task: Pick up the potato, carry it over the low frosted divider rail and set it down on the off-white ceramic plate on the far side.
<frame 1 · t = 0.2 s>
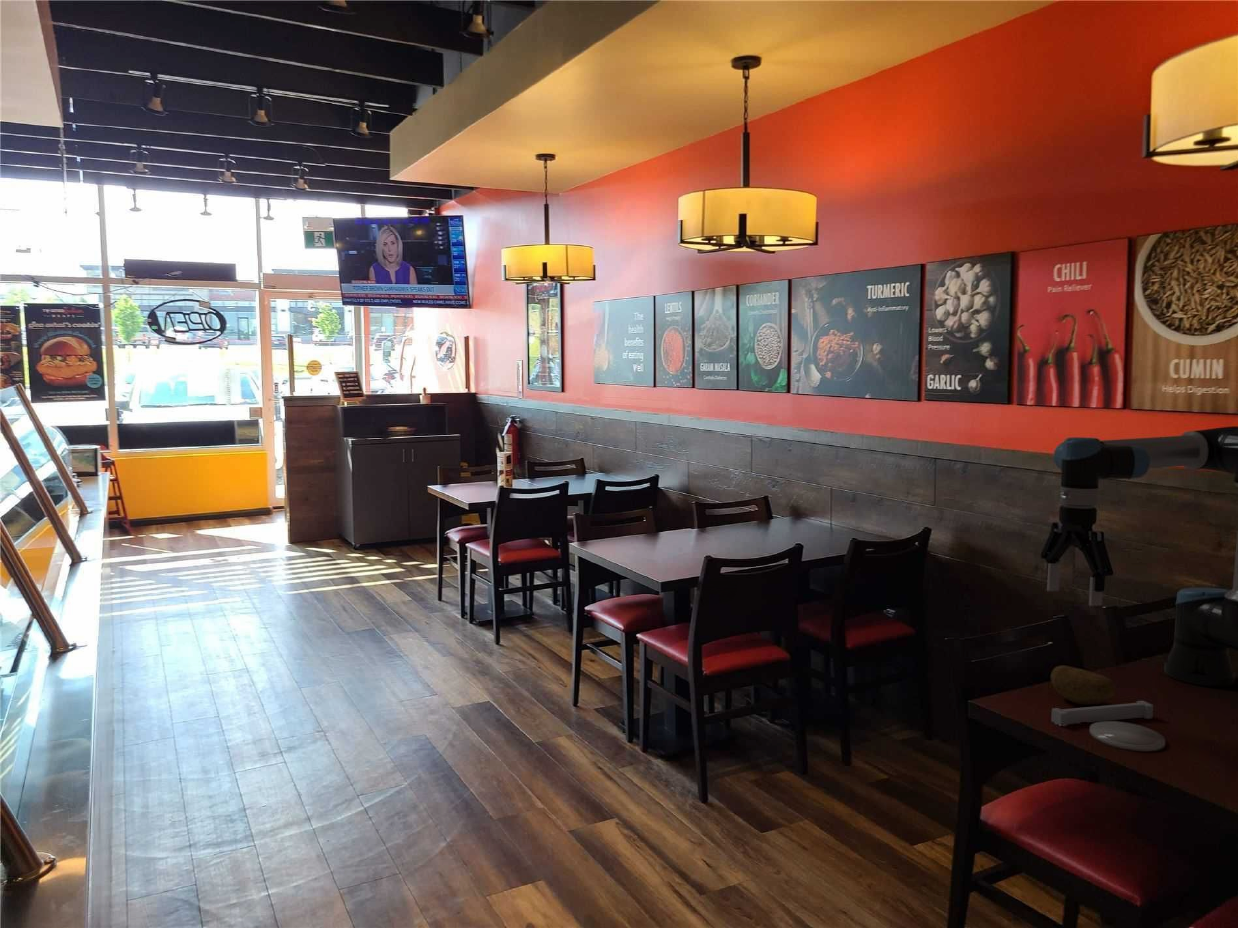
hand: (1073, 597, 199), 27 cm above the table, fingers open, 13 cm apart
divider rail: (1102, 719, 196), on the table
potato: (1081, 703, 207), on the table
plate: (1126, 737, 187), on the table
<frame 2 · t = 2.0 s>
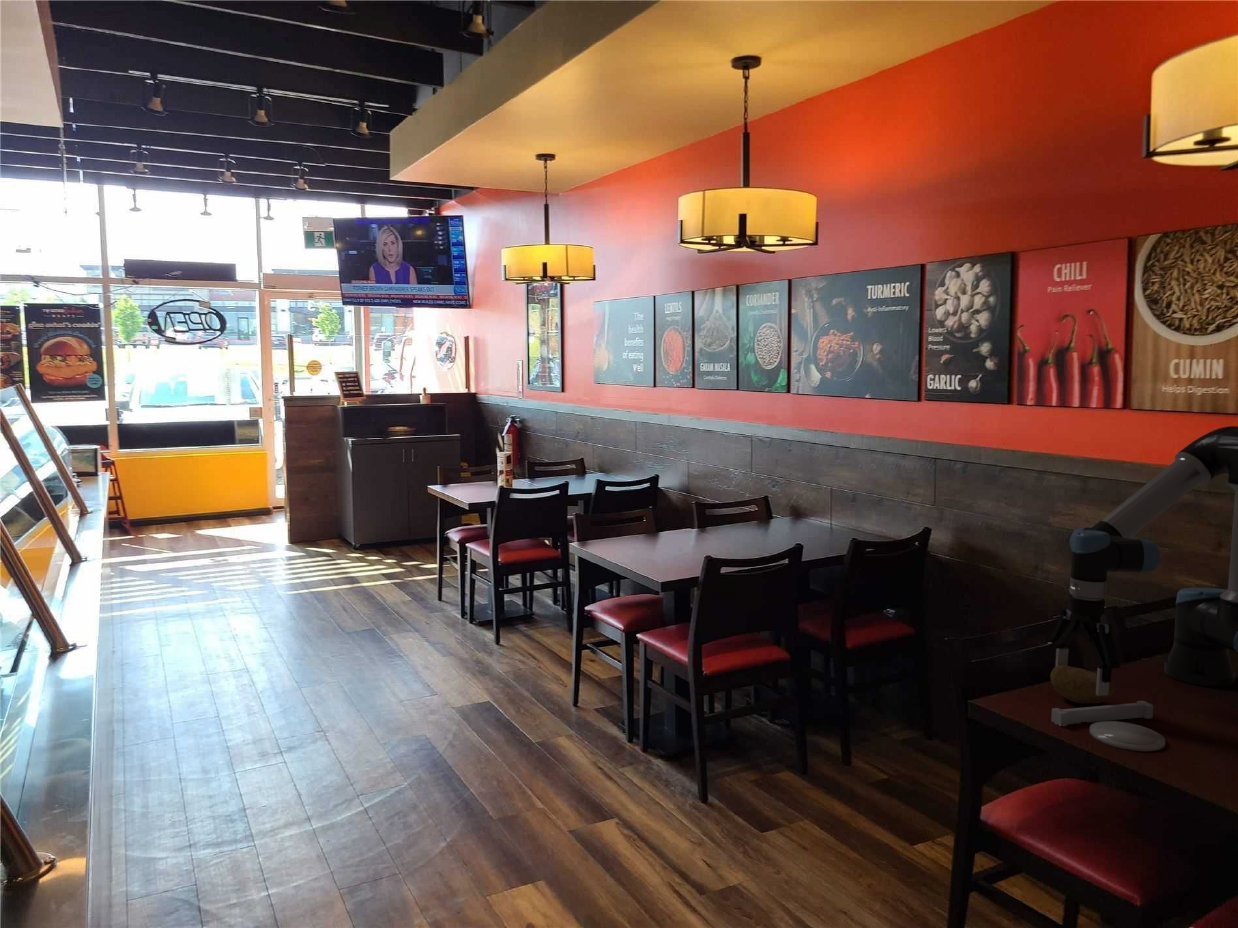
hand: (1080, 684, 206), 4 cm above the table, fingers open, 13 cm apart
potato: (1082, 703, 207), on the table, touching gripper
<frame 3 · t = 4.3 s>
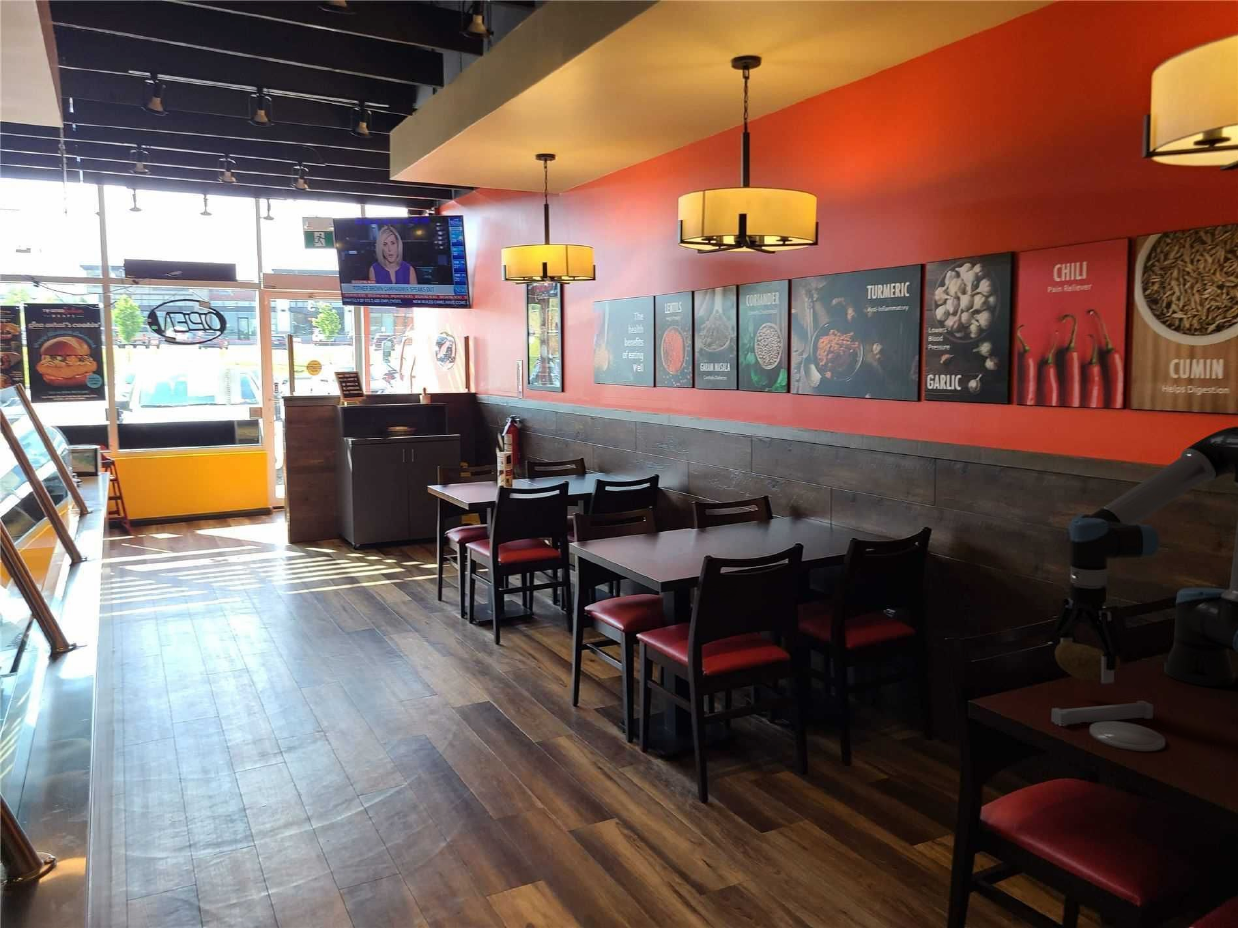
hand: (1086, 673, 206), 7 cm above the table, fingers closed on potato, 13 cm apart
potato: (1086, 679, 206), point 6 cm above the table, touching gripper
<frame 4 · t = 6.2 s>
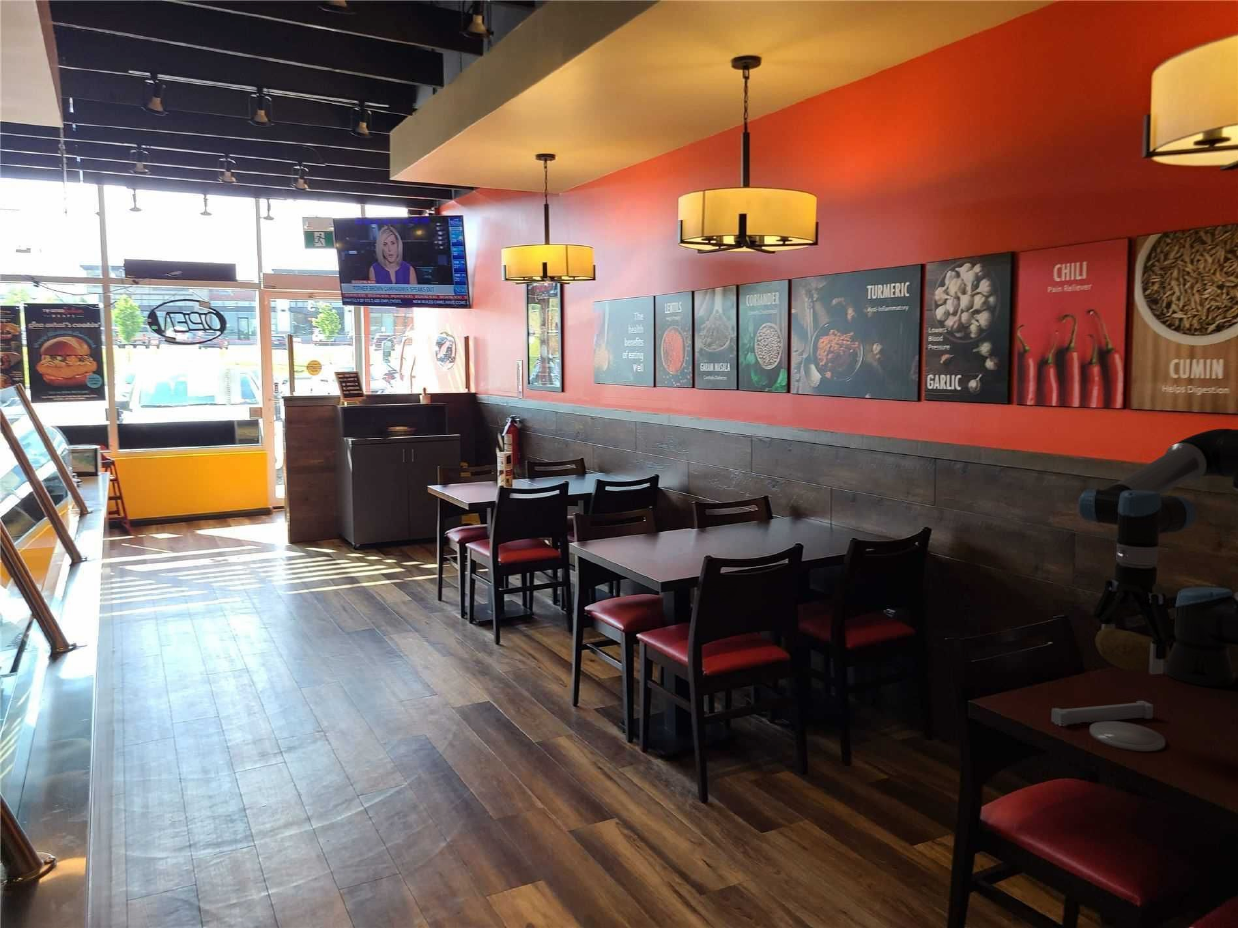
hand: (1130, 662, 185), 16 cm above the table, fingers closed on potato, 13 cm apart
potato: (1130, 669, 185), point 15 cm above the table, touching gripper
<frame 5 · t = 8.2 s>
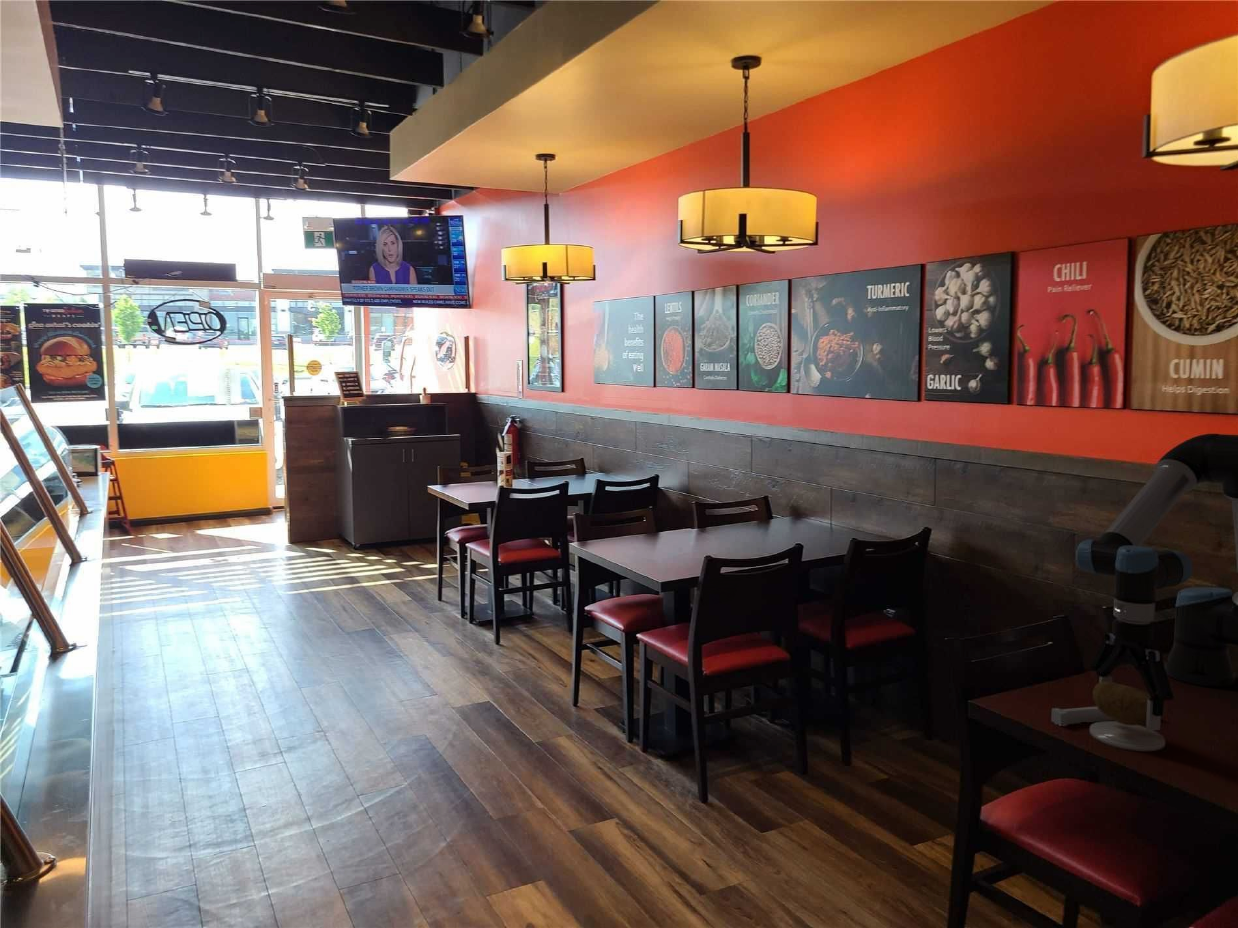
hand: (1127, 717, 186), 5 cm above the table, fingers closed on potato, 13 cm apart
potato: (1128, 723, 186), point 3 cm above the table, touching gripper
when the fingers open (4 cm above the table, at t = 9.6 s): potato drops 1 cm, resting on plate.
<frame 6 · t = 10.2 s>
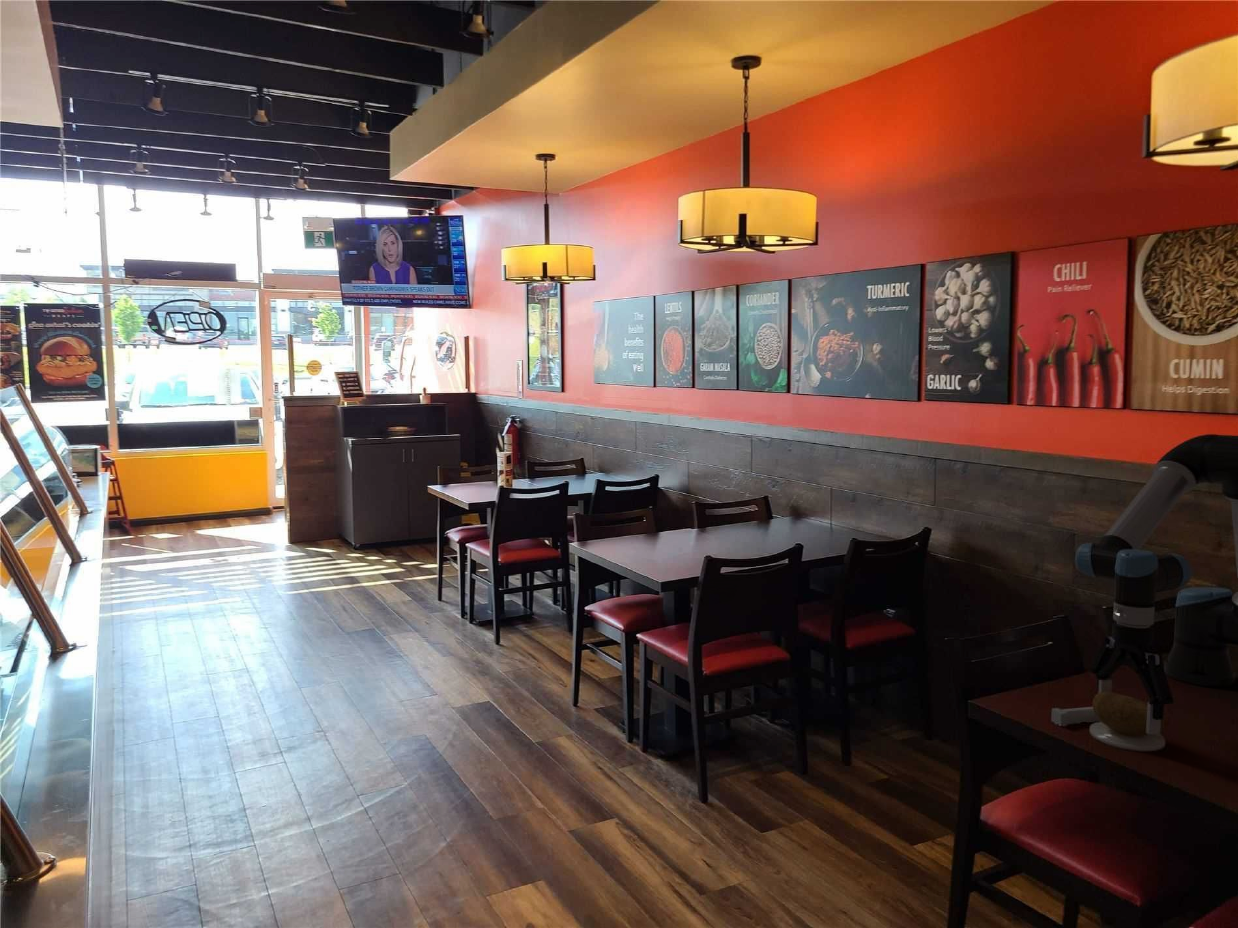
hand: (1127, 720, 186), 4 cm above the table, fingers open, 13 cm apart
potato: (1127, 734, 186), point 1 cm above the table, touching gripper, plate
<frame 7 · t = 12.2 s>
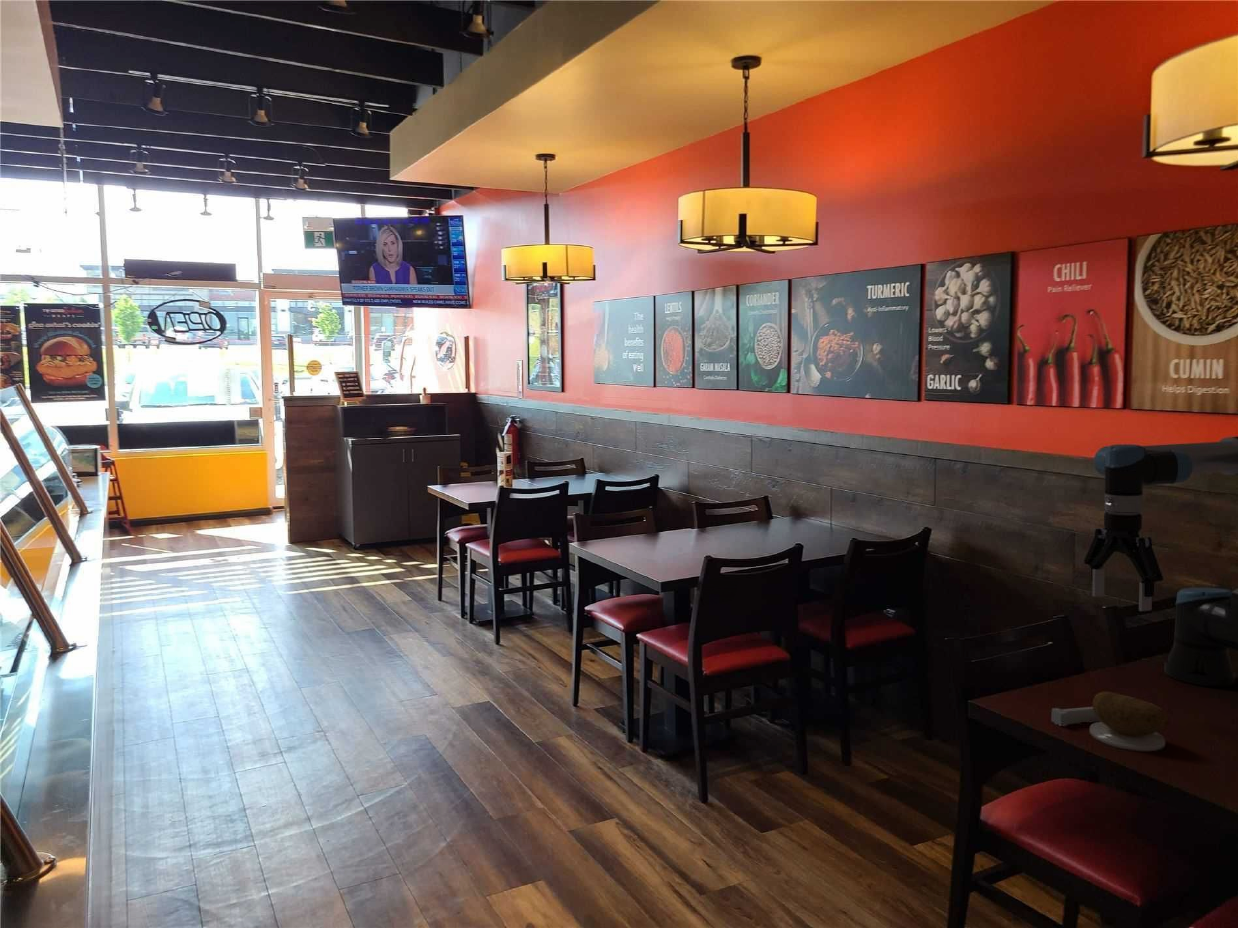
hand: (1120, 602, 202), 25 cm above the table, fingers open, 13 cm apart
potato: (1127, 734, 186), point 1 cm above the table, touching plate
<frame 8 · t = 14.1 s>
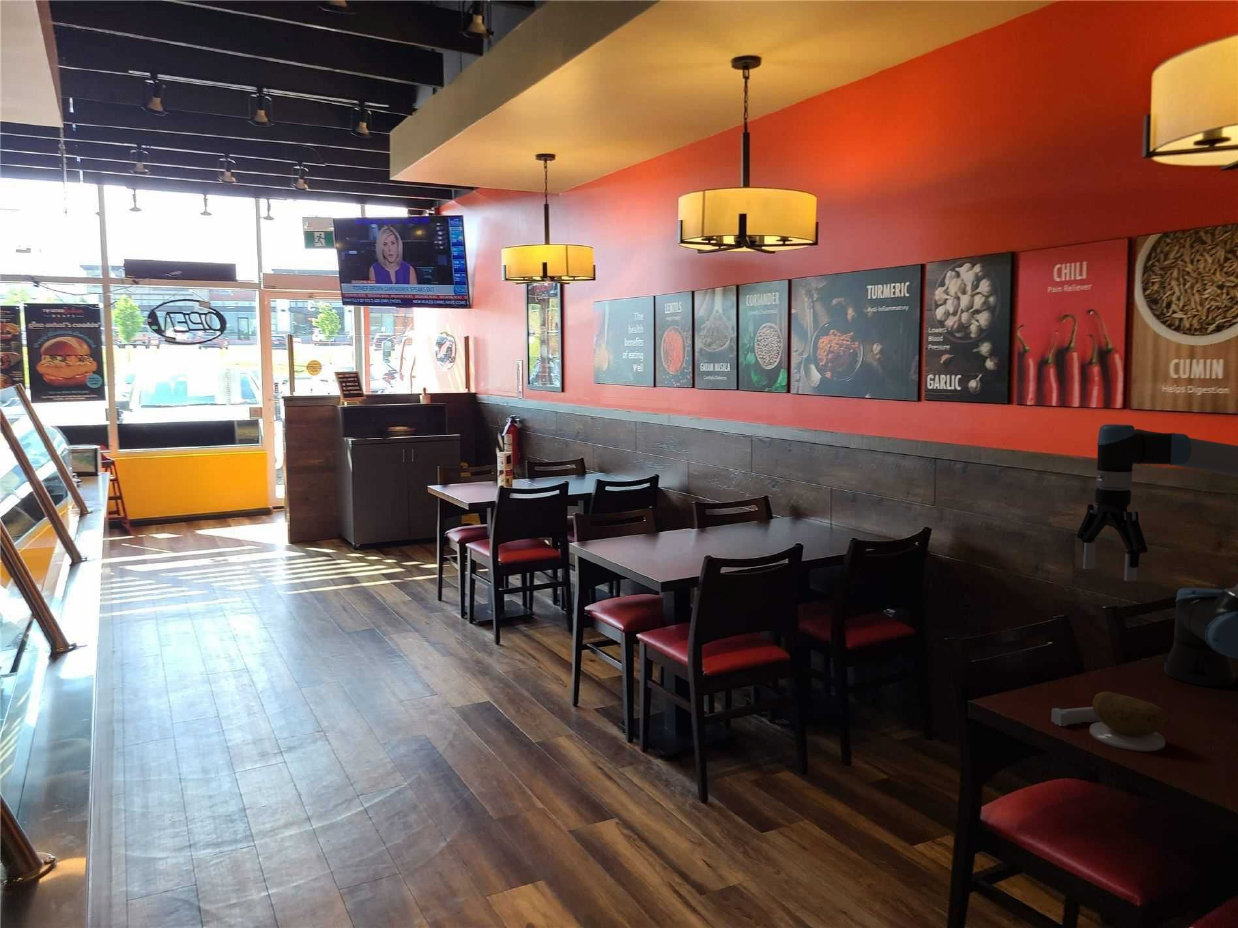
hand: (1108, 574, 214), 29 cm above the table, fingers open, 13 cm apart
nothing on the table moved.
at the end: potato 0.2 cm from the plate (horizontally); potato touching plate; the gripper is holding nothing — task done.
